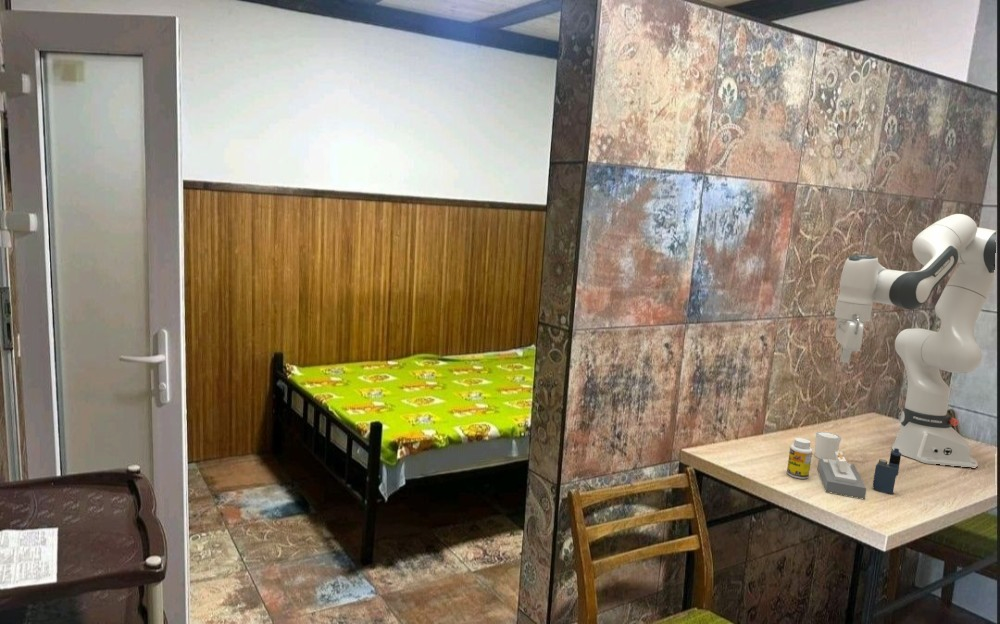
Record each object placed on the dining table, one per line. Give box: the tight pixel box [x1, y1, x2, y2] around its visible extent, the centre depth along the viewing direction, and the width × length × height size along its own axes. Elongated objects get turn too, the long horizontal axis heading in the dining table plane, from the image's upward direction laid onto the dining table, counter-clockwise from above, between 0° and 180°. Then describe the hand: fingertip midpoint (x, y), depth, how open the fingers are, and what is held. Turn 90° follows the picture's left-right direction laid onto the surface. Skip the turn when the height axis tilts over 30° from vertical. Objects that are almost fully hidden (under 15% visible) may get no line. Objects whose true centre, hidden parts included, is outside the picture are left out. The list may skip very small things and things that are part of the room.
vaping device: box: [872, 448, 902, 495], centre depth 173 cm, size 3×5×12 cm, turn 58°
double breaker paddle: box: [835, 450, 848, 472], centre depth 177 cm, size 2×8×3 cm, turn 161°
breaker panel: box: [816, 458, 867, 500], centre depth 177 cm, size 9×18×4 cm, turn 161°
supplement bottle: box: [786, 437, 813, 480], centre depth 180 cm, size 6×6×10 cm
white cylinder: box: [814, 431, 842, 460], centre depth 197 cm, size 7×7×7 cm
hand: (844, 361), depth 184 cm, fingers closed
